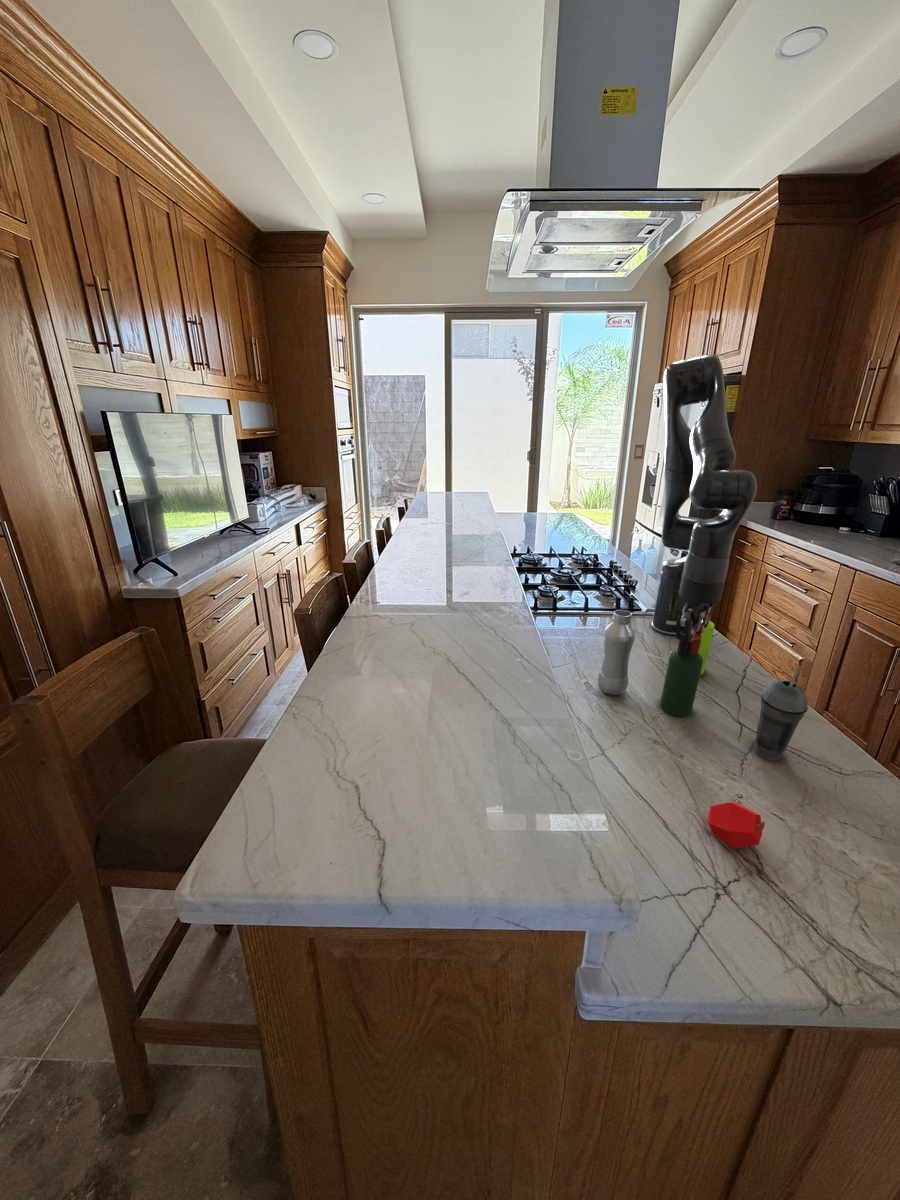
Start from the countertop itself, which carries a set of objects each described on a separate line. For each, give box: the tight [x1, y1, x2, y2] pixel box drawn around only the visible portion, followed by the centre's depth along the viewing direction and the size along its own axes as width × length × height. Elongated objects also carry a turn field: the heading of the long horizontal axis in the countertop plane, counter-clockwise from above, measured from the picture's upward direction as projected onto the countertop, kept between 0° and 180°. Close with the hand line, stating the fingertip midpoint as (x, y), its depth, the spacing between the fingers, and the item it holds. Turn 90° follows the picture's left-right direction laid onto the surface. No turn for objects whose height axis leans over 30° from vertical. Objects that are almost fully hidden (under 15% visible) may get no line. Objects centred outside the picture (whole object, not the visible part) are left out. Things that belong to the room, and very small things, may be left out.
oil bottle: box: [659, 647, 703, 718], centre depth 103 cm, size 6×6×18 cm
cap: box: [677, 633, 701, 654], centre depth 100 cm, size 4×4×3 cm
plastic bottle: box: [597, 609, 636, 696], centre depth 109 cm, size 6×7×20 cm
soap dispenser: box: [698, 604, 716, 677], centre depth 117 cm, size 6×7×20 cm
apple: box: [707, 801, 766, 850], centre depth 74 cm, size 7×7×8 cm
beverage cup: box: [754, 664, 809, 761], centre depth 89 cm, size 7×7×20 cm
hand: (687, 651), depth 101 cm, fingers closed on cap, 3 cm apart
